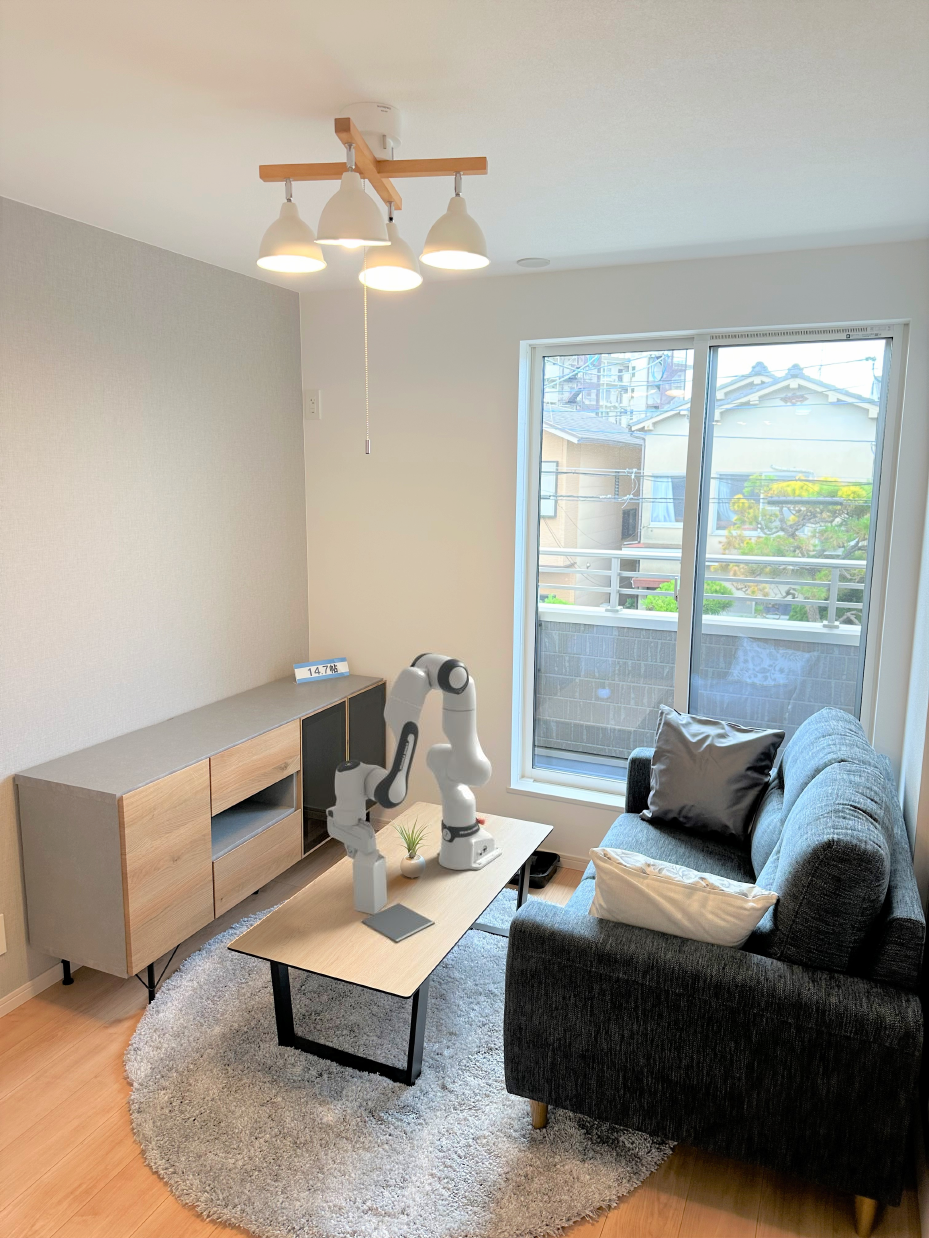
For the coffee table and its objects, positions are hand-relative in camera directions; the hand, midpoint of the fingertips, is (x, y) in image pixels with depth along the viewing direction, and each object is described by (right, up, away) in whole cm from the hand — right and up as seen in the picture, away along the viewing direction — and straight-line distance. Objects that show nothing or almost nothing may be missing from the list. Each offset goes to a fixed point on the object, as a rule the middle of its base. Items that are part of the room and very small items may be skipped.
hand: (352, 857), depth 251 cm
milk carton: (+6, -14, -4) cm, 16 cm away
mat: (+15, -15, -13) cm, 25 cm away
